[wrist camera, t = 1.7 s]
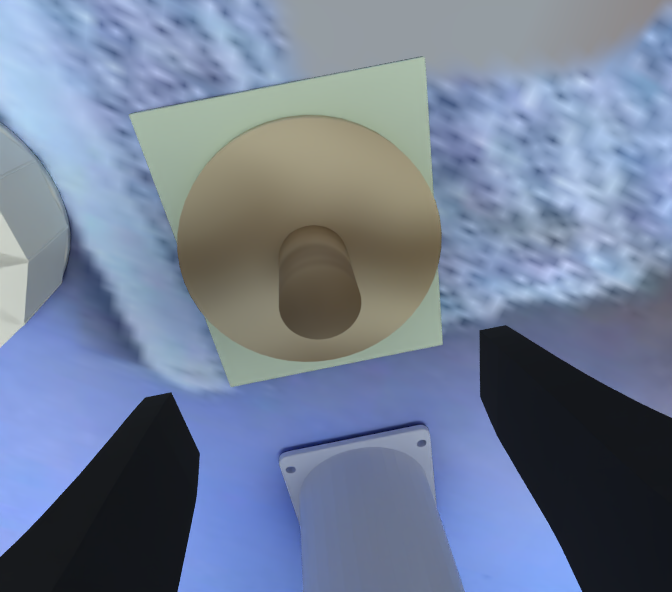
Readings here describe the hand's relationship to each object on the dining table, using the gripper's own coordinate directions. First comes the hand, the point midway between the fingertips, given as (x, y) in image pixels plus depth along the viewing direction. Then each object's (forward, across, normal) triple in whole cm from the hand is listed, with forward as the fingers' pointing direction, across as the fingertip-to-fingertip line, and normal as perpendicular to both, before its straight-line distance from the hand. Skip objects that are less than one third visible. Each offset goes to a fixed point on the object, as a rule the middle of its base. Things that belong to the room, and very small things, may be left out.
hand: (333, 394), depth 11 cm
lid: (+9, 0, 0) cm, 9 cm away
